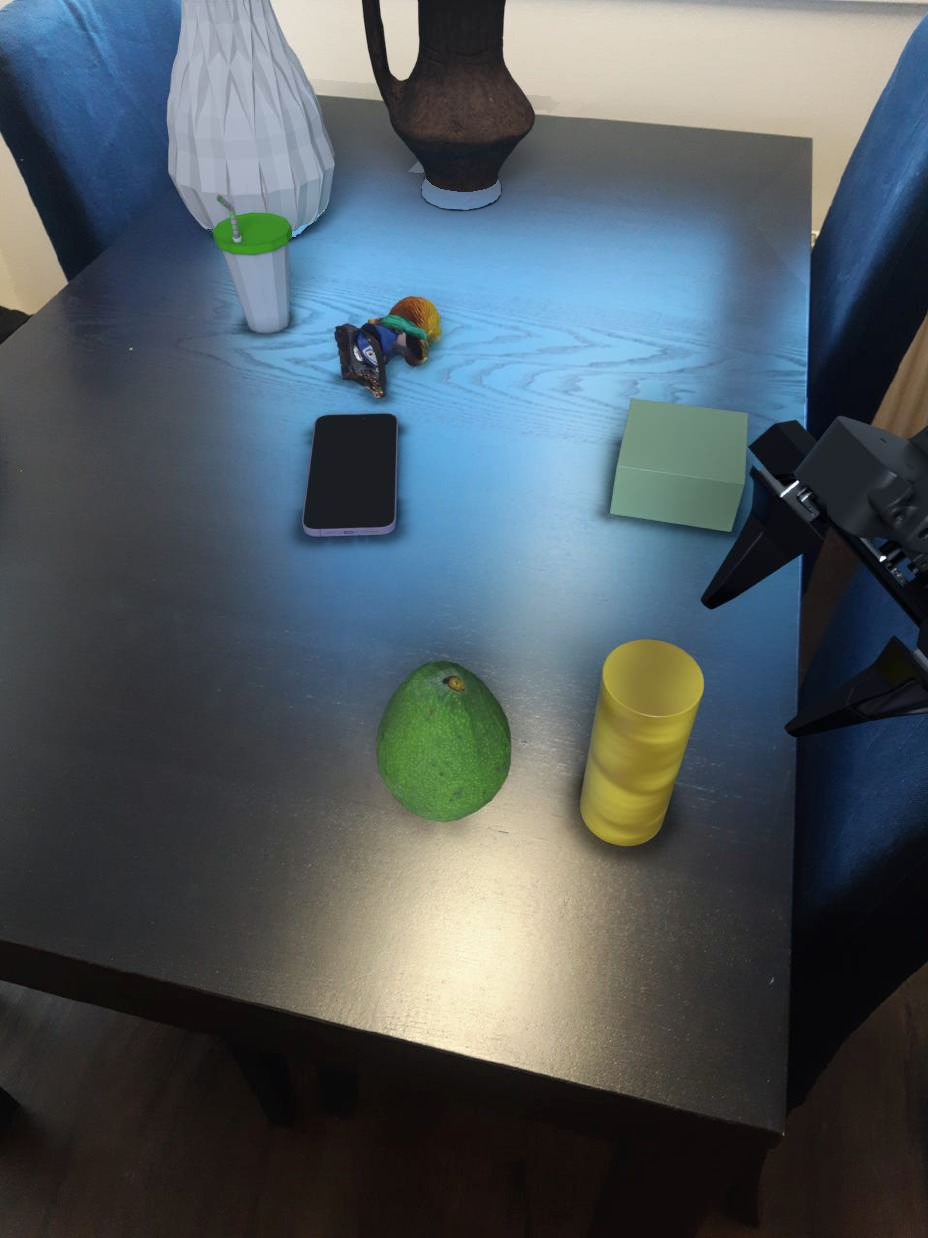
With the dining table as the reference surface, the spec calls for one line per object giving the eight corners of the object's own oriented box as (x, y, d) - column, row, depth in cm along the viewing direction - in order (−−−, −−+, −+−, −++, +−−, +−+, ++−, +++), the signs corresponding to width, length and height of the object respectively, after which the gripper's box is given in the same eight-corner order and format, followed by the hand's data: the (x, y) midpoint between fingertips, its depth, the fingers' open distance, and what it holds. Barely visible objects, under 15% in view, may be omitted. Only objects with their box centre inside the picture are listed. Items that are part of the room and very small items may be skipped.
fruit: (426, 874, 52) (417, 758, 43) (359, 779, 56) (339, 656, 48) (533, 807, 55) (544, 686, 46) (461, 722, 59) (460, 597, 51)
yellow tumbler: (658, 773, 57) (695, 638, 47) (669, 847, 53) (712, 717, 44) (576, 772, 57) (598, 638, 47) (583, 846, 53) (607, 716, 44)
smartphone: (299, 530, 71) (314, 414, 82) (301, 541, 72) (316, 425, 83) (396, 527, 72) (398, 412, 82) (397, 538, 72) (399, 423, 83)
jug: (530, 168, 126) (543, -101, 104) (532, 223, 113) (546, -70, 91) (383, 167, 127) (365, -100, 105) (368, 221, 114) (344, -69, 92)
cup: (283, 298, 100) (260, 158, 89) (318, 326, 96) (298, 182, 85) (220, 319, 97) (188, 176, 86) (253, 349, 93) (223, 202, 82)
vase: (210, 193, 120) (152, -85, 98) (355, 198, 119) (329, -83, 97) (162, 260, 107) (82, -46, 85) (325, 266, 105) (287, -43, 83)
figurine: (422, 334, 94) (418, 278, 90) (465, 364, 90) (464, 307, 86) (331, 371, 90) (323, 314, 85) (373, 404, 86) (366, 345, 81)
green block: (735, 460, 79) (748, 412, 75) (731, 532, 72) (745, 484, 69) (623, 444, 81) (631, 397, 77) (609, 513, 74) (616, 465, 70)
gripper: (831, 270, 42) (590, 493, 48) (1135, 514, 30) (761, 773, 36) (913, 389, 49) (695, 570, 55) (1185, 625, 37) (866, 825, 43)
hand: (744, 665), depth 47 cm, fingers open, 9 cm apart
